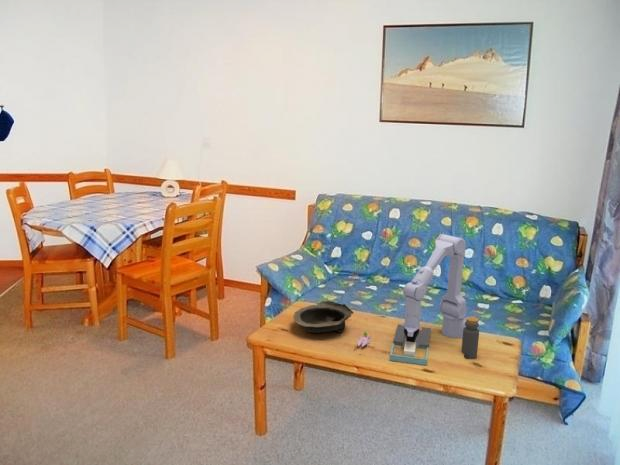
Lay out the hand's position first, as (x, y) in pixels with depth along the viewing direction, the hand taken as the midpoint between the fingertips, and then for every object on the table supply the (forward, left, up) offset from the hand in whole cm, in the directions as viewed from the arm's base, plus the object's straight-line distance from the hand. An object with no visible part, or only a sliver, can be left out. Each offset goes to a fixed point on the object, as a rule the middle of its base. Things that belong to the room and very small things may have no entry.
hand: (410, 347), depth 211 cm
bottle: (-22, -3, -2) cm, 22 cm away
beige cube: (0, +7, -2) cm, 7 cm away
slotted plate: (0, -10, -2) cm, 11 cm away
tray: (0, +5, -2) cm, 5 cm away
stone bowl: (+38, -11, -2) cm, 40 cm away
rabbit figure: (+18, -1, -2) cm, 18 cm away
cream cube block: (0, +3, -2) cm, 3 cm away
